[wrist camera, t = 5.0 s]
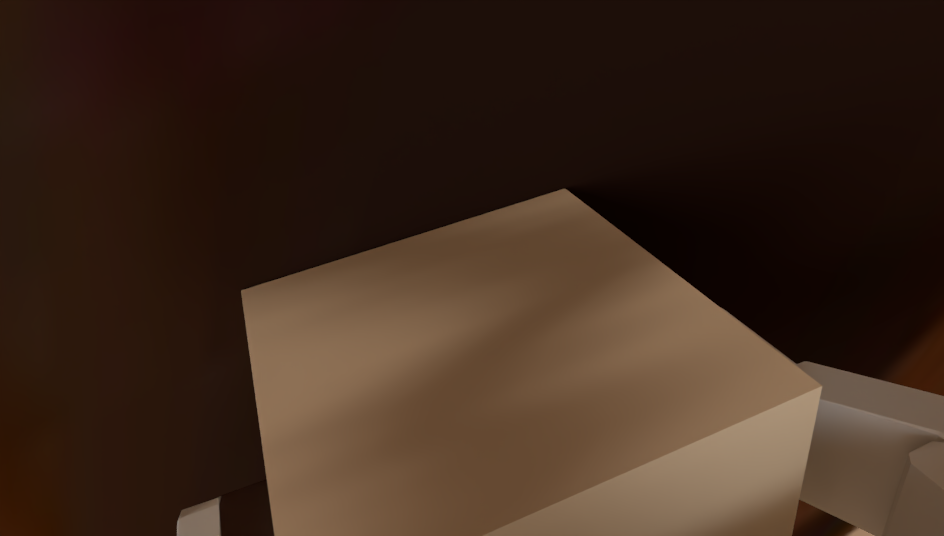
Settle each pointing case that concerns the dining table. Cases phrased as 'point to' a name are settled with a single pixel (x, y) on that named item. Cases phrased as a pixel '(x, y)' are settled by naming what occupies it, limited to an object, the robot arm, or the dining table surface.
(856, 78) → the dining table surface
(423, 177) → the dining table surface
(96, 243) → the dining table surface
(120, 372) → the dining table surface
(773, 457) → the cube
